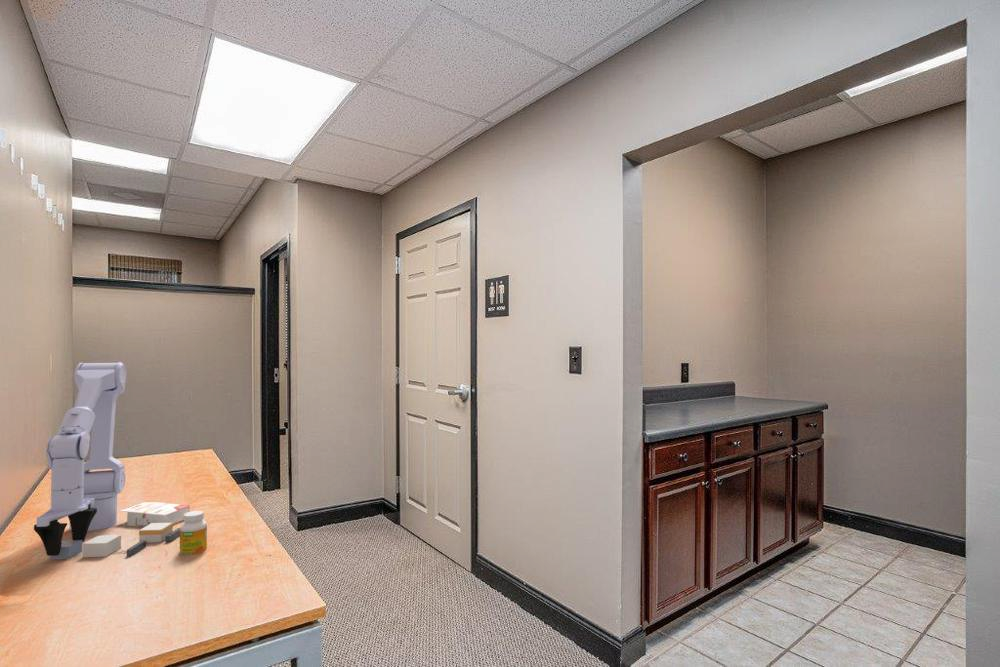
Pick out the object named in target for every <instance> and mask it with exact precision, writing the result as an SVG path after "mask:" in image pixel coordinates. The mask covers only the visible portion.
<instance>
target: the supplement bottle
mask: <svg viewBox="0 0 1000 667" xmlns="http://www.w3.org/2000/svg"><path fill="white" fill-rule="evenodd" d="M204 515H205V514H204V511H203V510H191V511H189V512H188V513H185V514H184V520H183V523H182V524H181V525H180V526H179V528H180V536H179V554H180V555H183V556H184V555H187V556H188V555H189V556H190V555H196V554H200V553H202V552H205V551H206V550H207V548H208V547H207V546H208V543H207V540H208V539H207V538H208V534H207V533H208V523H207V521H206V520H204Z"/></svg>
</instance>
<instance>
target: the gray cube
mask: <svg viewBox="0 0 1000 667" xmlns="http://www.w3.org/2000/svg"><path fill="white" fill-rule="evenodd" d="M80 553H83V542H82V540H71V539H70V540H63V541H62V542H61V550H60V553H59V555H56V556H49V559H50V560H67V559H68V560H69V559H71V558H73V557H75V556H77V555H80Z"/></svg>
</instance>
